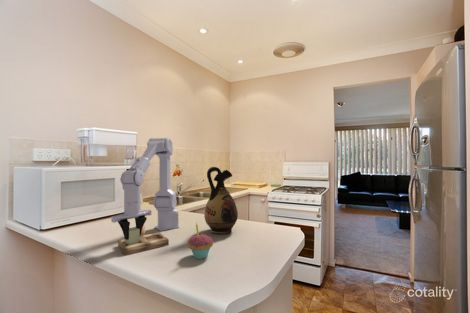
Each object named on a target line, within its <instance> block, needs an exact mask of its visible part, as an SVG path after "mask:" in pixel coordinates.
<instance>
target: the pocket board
mask: <svg viewBox="0 0 470 313" xmlns="http://www.w3.org/2000/svg"><path fill="white" fill-rule="evenodd" d="M169 240H170V239H169V238H168V237H166V236H165V235H164V234H163V233H161V231H159V232H158V231H157V232H154V233H148V234H145V235H142V236H140V242H138V243H134V244H131V245H128V244H126V243H124V238H122V239H118V240H117V241H118V242H117V244H118V248H119V249H120V251H121V253H122V254H123V256H127V255H131V254H134V253H135V254H136V253H140V252H143V251H148V250H152V248H153V249H156V248H160V247H164V246H165V245H166V246H168V245H169V242H170V241H169Z"/></svg>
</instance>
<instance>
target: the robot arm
mask: <svg viewBox="0 0 470 313" xmlns="http://www.w3.org/2000/svg"><path fill="white" fill-rule="evenodd" d="M146 146H147V147H146V149H145V151H144V153H142V156H140V157H136V159H135V160H134V162H133V163H132V165H131V166H130V167H129V169H127V170H124V171H123V172H122V174H121V175H120V178H119V180H120V183H121V185H122V190H123V206H124V208H123V209H124V210H123V213H120V214H117V215H112V216H110V218H111V222H112V224H113V223H114V224H115V223H117V224H118V225H119V227H120V228H121V232H122V233H123V236H124V237H123V239H126V240H128V239H129V228H130V226H131V222H130V221H129V220H131V219H134V221H135V222H134V223H135V226H136V228H139V229H140V235H141V231H142V228H143V225H144V226H145V223H146V222H147V217H148V216H152V210H151V209H145V210H141V209H142V208H141V205H142V204H141V200H142V199H141V198H142V197H141V192H142V191H141V185H142V184H144V180H145V175H146V172H147V171H148V170H149V167H150V166H151V163H150V161H151V160H152V159H153V158H154V156H157V157H158V160H159V179H158V181H159V183H158V184H159V188H158V189H159V190H158V191H156V192H155V193H154V199H153V207H154V208H155V209H156V211H157V225H155V226H154V228H155V229H157V230H158V231H159V232H161V231H167V230H172V229H178V228H180V226H179V210H178V209H177V204H178V201H177V196H176V195H177V194H176V192H175V191H174V190H172V189H171V156H172V155H173V148H174V147H173V142H172V139H171V138H170V137H164V138H163V137H161V138H160V137H159V138H158V137H157V138H156V137H155V138H153V137H150V138H149V139H148V141H147V142H146Z"/></svg>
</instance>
